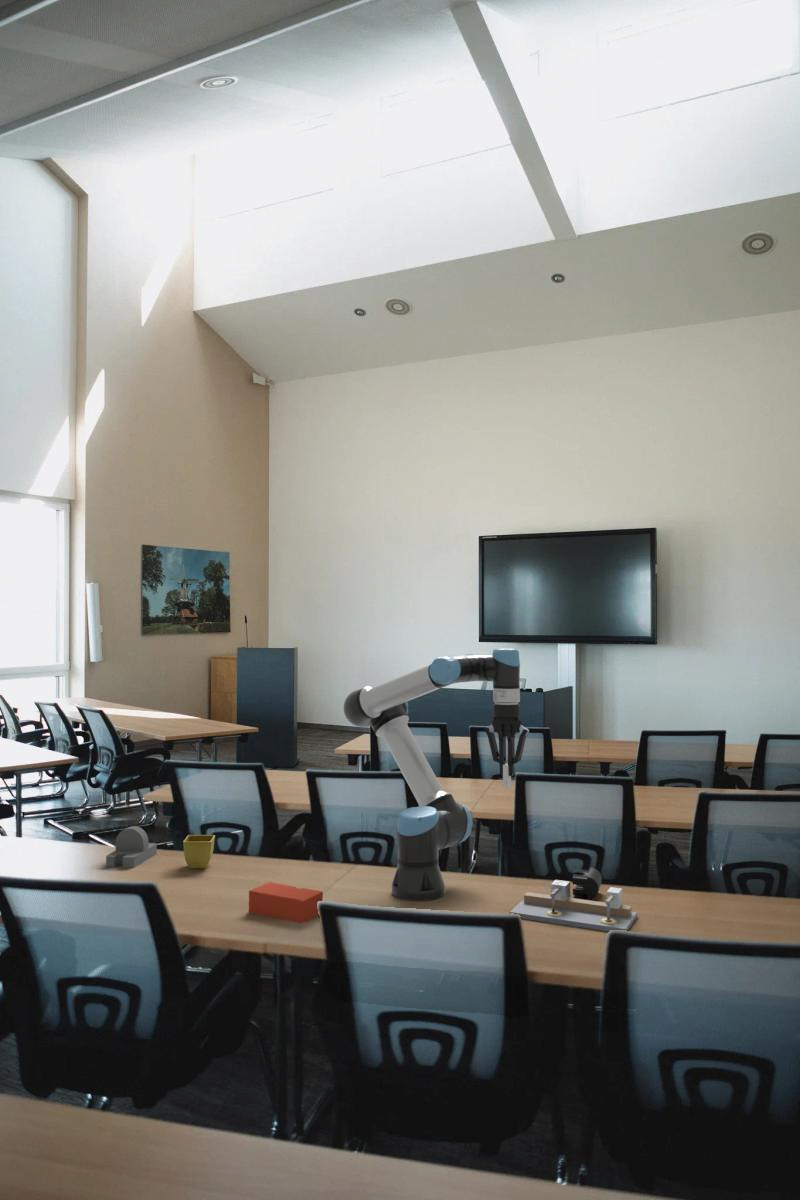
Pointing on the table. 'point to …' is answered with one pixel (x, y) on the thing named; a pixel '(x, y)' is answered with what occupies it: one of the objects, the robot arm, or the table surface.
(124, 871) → the table surface
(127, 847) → the bracket
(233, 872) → the table surface
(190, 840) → the flower pot
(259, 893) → the brick
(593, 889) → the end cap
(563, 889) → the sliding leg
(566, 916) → the board
